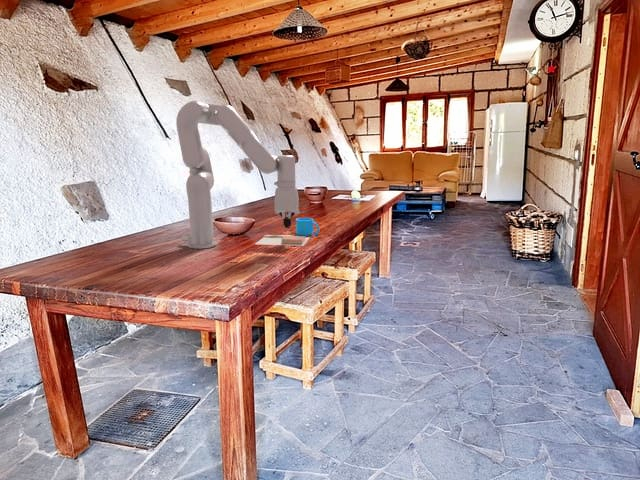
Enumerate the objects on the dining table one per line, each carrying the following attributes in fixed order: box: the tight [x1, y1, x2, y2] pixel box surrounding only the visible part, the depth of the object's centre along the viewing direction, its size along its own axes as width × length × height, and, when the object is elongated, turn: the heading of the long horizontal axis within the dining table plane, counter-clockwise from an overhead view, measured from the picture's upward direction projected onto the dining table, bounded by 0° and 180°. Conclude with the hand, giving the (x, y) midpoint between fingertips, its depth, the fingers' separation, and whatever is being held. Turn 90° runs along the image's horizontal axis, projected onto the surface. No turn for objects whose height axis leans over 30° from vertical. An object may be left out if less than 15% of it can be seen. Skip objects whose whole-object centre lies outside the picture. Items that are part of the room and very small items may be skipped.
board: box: [255, 236, 311, 247], centre depth 207 cm, size 21×18×1 cm
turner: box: [263, 234, 298, 238], centre depth 214 cm, size 16×5×1 cm, turn 82°
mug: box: [295, 217, 321, 236], centre depth 221 cm, size 12×8×8 cm
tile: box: [281, 235, 306, 244], centre depth 203 cm, size 2×7×9 cm
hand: (287, 227), depth 203 cm, fingers closed
